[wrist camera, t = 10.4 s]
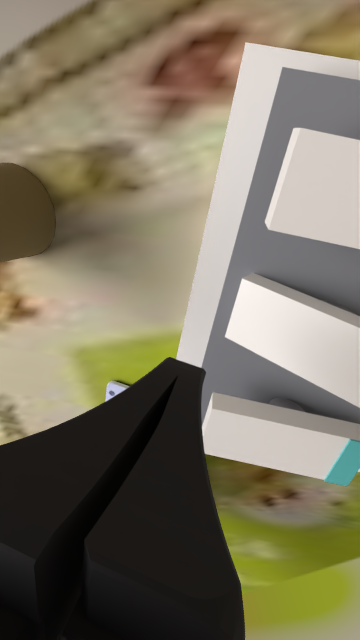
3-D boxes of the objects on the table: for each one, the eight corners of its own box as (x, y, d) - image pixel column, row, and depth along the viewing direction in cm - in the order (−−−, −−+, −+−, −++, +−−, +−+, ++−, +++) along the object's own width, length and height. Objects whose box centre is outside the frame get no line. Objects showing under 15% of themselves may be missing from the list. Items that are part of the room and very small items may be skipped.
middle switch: (402, 400, 15) (397, 428, 13) (244, 322, 19) (223, 337, 17) (443, 340, 13) (443, 364, 12) (261, 268, 17) (241, 278, 15)
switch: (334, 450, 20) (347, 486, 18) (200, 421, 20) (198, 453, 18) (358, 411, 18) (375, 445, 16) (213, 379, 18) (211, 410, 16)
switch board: (423, 484, 23) (442, 535, 20) (170, 393, 26) (154, 425, 23) (733, 128, 12) (874, 122, 9) (248, 48, 15) (237, 24, 12)
